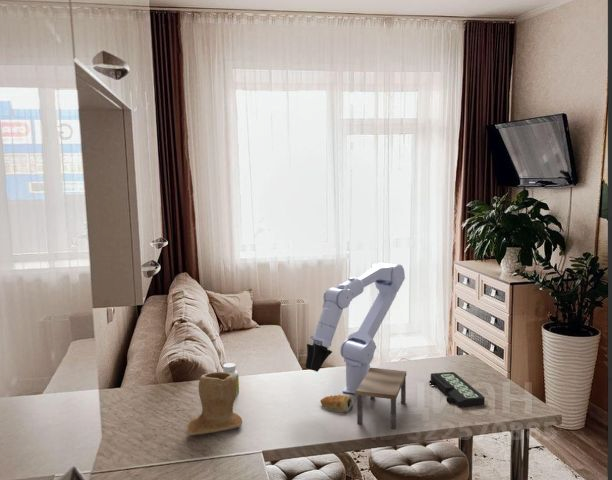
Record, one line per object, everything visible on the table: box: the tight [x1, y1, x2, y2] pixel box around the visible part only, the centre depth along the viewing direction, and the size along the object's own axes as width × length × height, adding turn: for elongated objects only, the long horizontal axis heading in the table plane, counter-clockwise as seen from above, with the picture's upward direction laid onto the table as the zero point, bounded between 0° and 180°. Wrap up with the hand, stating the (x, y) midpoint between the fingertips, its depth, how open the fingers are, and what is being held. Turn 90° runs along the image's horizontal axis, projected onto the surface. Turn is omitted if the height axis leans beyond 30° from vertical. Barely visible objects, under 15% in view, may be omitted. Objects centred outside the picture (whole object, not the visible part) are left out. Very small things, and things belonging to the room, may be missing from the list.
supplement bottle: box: [222, 362, 240, 397], centre depth 166 cm, size 5×5×10 cm
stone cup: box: [187, 371, 243, 436], centre depth 144 cm, size 15×12×15 cm
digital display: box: [428, 371, 486, 409], centre depth 164 cm, size 21×3×10 cm
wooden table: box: [355, 367, 407, 430], centre depth 150 cm, size 18×11×10 cm, turn 160°
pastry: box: [319, 394, 354, 414], centre depth 155 cm, size 9×7×4 cm
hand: (311, 369), depth 153 cm, fingers open, 7 cm apart
